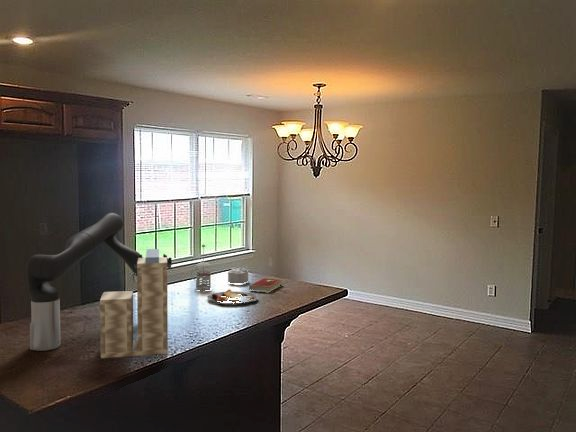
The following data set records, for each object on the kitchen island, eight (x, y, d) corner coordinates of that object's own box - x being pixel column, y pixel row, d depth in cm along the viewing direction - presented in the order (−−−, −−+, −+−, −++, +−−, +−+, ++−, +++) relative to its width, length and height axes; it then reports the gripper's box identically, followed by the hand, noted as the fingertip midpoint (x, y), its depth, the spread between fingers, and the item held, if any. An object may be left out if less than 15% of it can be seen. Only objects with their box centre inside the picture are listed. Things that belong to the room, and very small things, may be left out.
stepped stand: (100, 358, 170) (99, 264, 168) (104, 346, 181) (103, 258, 179) (167, 353, 175) (167, 262, 173) (167, 342, 187) (166, 257, 185)
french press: (210, 292, 270) (211, 245, 268) (189, 291, 270) (189, 245, 268) (213, 288, 280) (214, 243, 278) (193, 287, 280) (193, 243, 278)
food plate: (198, 299, 252) (198, 292, 252) (233, 293, 269) (233, 286, 269) (231, 310, 235) (231, 303, 235) (266, 302, 252) (266, 295, 252)
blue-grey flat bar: (145, 263, 171) (145, 257, 171) (146, 254, 191) (146, 249, 190) (158, 262, 172) (158, 257, 172) (158, 254, 192) (158, 249, 191)
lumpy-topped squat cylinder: (225, 284, 291) (225, 269, 290) (237, 280, 302) (237, 266, 302) (241, 286, 286) (241, 271, 286) (252, 282, 298) (252, 267, 297)
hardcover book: (249, 292, 273) (249, 284, 272) (262, 284, 293) (263, 277, 292) (269, 294, 269) (269, 286, 269) (282, 286, 289) (282, 279, 289)
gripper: (135, 263, 205) (133, 247, 191) (170, 262, 209) (171, 247, 195) (134, 280, 202) (133, 266, 188) (171, 279, 206) (172, 265, 191)
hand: (152, 256), depth 191 cm, fingers open, 8 cm apart
